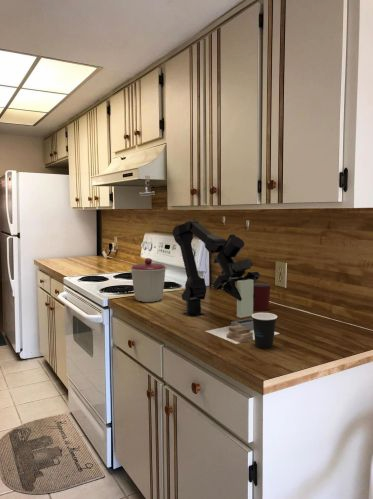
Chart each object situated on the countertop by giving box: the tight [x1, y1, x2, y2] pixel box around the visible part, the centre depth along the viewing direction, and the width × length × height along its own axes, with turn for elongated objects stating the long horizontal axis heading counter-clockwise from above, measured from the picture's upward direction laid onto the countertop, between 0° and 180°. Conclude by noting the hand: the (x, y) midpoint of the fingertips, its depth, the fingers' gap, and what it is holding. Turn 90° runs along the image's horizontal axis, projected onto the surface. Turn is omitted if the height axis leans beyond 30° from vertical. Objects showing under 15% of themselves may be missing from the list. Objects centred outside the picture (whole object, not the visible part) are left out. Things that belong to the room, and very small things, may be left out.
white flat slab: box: [205, 317, 280, 345], centre depth 144 cm, size 17×20×4 cm
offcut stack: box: [227, 325, 254, 344], centre depth 136 cm, size 7×6×4 cm
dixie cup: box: [251, 312, 278, 350], centre depth 129 cm, size 8×8×11 cm
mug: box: [253, 282, 271, 312], centre depth 184 cm, size 12×9×11 cm
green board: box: [236, 279, 254, 319], centre depth 146 cm, size 2×6×13 cm, turn 123°
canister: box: [129, 257, 167, 303], centre depth 201 cm, size 18×18×21 cm
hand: (247, 299), depth 145 cm, fingers closed on green board, 6 cm apart
